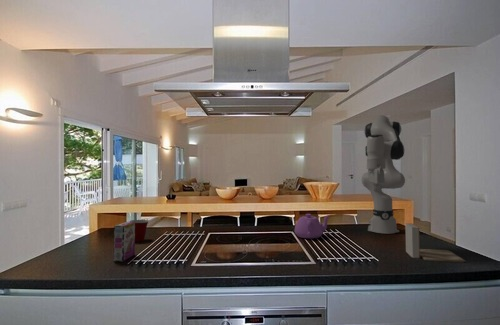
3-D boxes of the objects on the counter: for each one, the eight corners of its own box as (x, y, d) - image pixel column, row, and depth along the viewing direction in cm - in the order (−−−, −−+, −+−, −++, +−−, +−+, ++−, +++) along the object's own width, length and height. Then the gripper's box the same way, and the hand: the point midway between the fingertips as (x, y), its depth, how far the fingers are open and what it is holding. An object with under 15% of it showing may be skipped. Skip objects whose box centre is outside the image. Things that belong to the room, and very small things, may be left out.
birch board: (412, 250, 144) (412, 248, 144) (448, 251, 140) (448, 250, 140) (424, 260, 128) (424, 258, 128) (465, 262, 125) (465, 260, 125)
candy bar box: (123, 262, 130) (123, 226, 130) (113, 261, 130) (113, 225, 131) (135, 254, 141) (135, 221, 141) (125, 254, 142) (125, 221, 142)
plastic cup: (152, 240, 170) (152, 219, 170) (135, 243, 161) (135, 222, 162) (142, 237, 176) (142, 218, 177) (126, 241, 168) (126, 220, 168)
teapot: (333, 241, 162) (332, 217, 162) (294, 240, 165) (294, 216, 165) (328, 233, 183) (328, 211, 184) (294, 232, 187) (294, 211, 187)
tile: (405, 251, 142) (405, 223, 142) (412, 251, 141) (412, 223, 141) (412, 257, 132) (412, 227, 132) (419, 258, 131) (419, 227, 132)
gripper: (387, 165, 137) (388, 194, 137) (378, 165, 157) (378, 190, 157) (373, 165, 139) (374, 193, 139) (366, 165, 159) (366, 190, 158)
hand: (376, 192), depth 148 cm, fingers closed
